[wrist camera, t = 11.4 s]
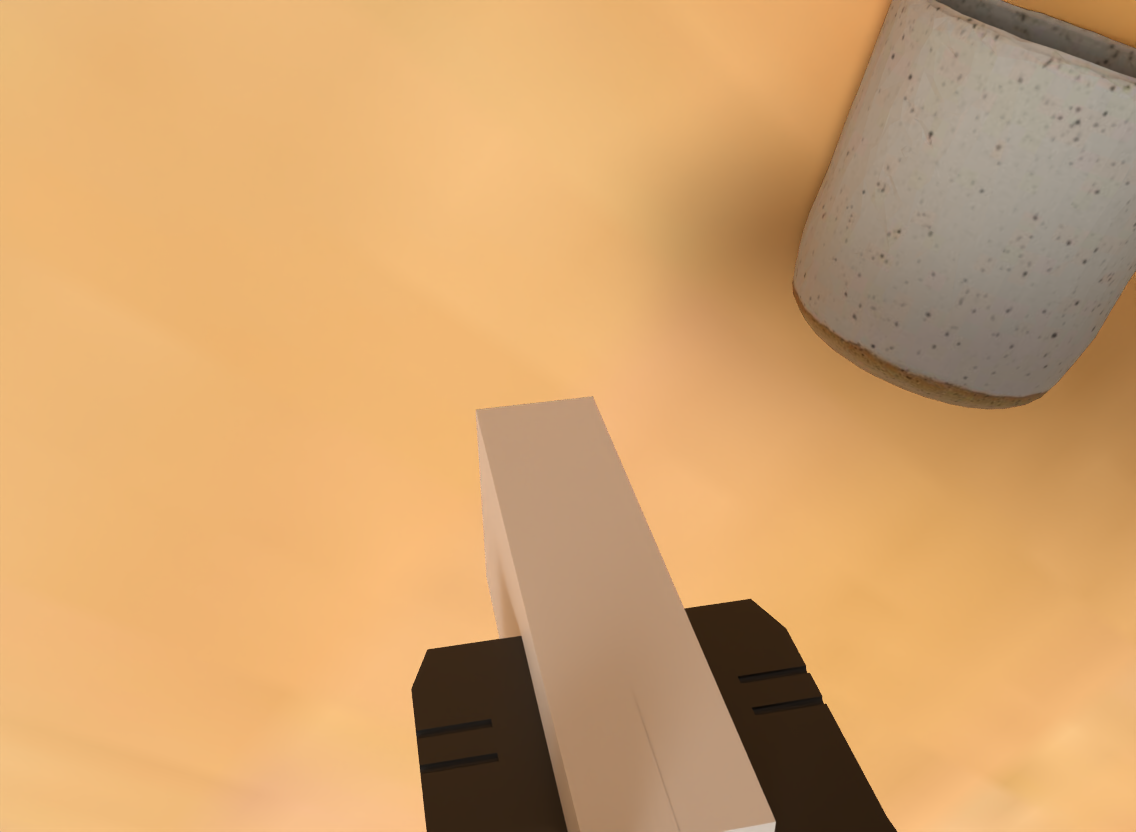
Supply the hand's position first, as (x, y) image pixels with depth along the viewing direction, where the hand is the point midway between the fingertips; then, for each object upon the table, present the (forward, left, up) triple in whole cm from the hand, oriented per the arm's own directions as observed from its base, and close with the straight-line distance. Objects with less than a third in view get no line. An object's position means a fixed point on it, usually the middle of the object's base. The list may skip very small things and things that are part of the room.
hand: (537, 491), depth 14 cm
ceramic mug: (+1, +14, -14) cm, 20 cm away
